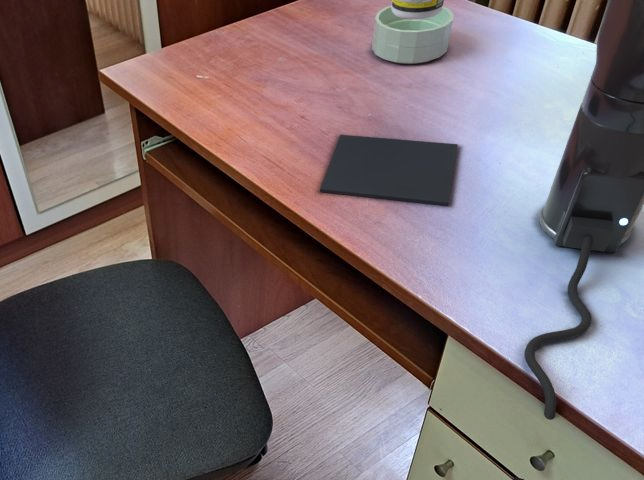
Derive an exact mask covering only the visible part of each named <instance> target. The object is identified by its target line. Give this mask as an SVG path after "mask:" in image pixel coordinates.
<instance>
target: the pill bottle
mask: <svg viewBox="0 0 644 480" xmlns="http://www.w3.org/2000/svg"><path fill="white" fill-rule="evenodd" d="M444 1H445V0H391V5H392V6H391V5H390V6H391V10H392V12H393V14H394V15H395V16H397V17H400V18H404V19H426V18H431V17H433V16H435V15H437V14H438V13H439V12H440V11H441V10H442V7H443V6H444Z"/></svg>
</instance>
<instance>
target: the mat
mask: <svg viewBox="0 0 644 480" xmlns="http://www.w3.org/2000/svg"><path fill="white" fill-rule="evenodd" d="M337 139H338V140H337V141H336V142H337V143H336V145H335V148H334V150H333V152H332V156H331V158H330V161H329V163H328V166H327V169H326V172H325V173H324V177H323V179H322V183H321V185H320V188H319V192H320V193H325V194H326V193H327V194H336V195H344V196H345V195H346V196H354V197H364V198H372V199H380V200H381V199H382V200H390V201H391V200H392V201H398V202H399V201H400V202H408V203H417V204H427V205H434V206H435V205H436V206H445V207H448V206H449V203H450V196H451V190H452V184H453V177H454V172H455V164H456V160H457V159H456V157H457V153H458V152H457V151H458V147H459V146H458V143H449V142H435V141H423V140H422V141H421V140H412V139H411V140H410V139H400V138H399V139H397V138H389V137H388V138H386V137H373V136H362V135H351V134H339V137H338V138H337Z"/></svg>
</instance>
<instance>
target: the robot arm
mask: <svg viewBox="0 0 644 480" xmlns="http://www.w3.org/2000/svg"><path fill="white" fill-rule="evenodd" d="M595 52H596V54H595V55H596V56H595V64H594V67H593V70H592V73H591V75H590V78H589V82H588V84H587V86H586V90H585V93H584V95H583V98H582V101H581V104H580V105H579V108H578V111H577V114H576V117H575V120H574V123H573V125H572V128H571V131H570V133H569V137H568V140H567V142H566V145H565V147H564V150H563V153H562V156H561V158H560V161H559V164H558V167H557V169H556V172H555V175H554V178H553V181H552V183H551V186H550V189H549V192H548V195H547V198H546V201H545V204H544V205H543V207H542V209H541V212H540V215H539V223H540V226H541V229H542V230H543V231H544V232H545V234H547V235H548V236H549V237H550V238H552V239H553V240H554V245H555V246H557V247H564V248H572V249H579V250H580V253H579V257H578V260H577V264H576V267H575V269H574V272H573V273H572V275H571V277H570V280H569V281H568V284H567V295H568V298H569V301H570V302H571V304H572V306H573V307H574V308H575V310H576V311H577V312H578V314H579V316H580V320H581V321H580V323H579V324H577V325H576V326H575V327H572V328H568V329H567V328H566V329H561V330H557V331H550V332H545V333H542V334H539V335H536V336H535V337H533V338H532V339H530V340H529V342H528V343H527V344H526V346H525V349H524V355H523V356H524V360H525V362H526V365H527V366H528V368H529V370H530V371H531V372H532V373H533V375H534V376H535V378H536V379H537V381H538V382H539V384H540V386H541V388H542V390H543V394H544V412H543V416H544V418H545V419H547V420H549V421H552V420H554V419H555V417H556V411H557V395H556V391H555V388H554V386H553V384H552V383H553V382H552V381H551V379H550V377H549V376H548V375H547V373H546V372H545V370H544V368H543V367H542V366H541V365H540V364H539V362H538V360H537V358H536V350H537V348H538V347H539V346H541V345H542V344H545V343H548V342H554V341H561V340H566V339H571V338H574V337H578V336H581V335H583V334H584V333H586V332H587V331H588V329H589V328H590V327H591V324H592V319H593V317H592V315H591V312H590V311H589V309H588V308H587V306H586V305H585V304H584V302H583V301H582V300H581V297H580V296H579V292H578V288H579V284H580V281H581V280H582V277H583V276H584V274H585V272H586V269H587V266H588V264H589V263H588V262H589V260H590V255H591V252H592V251H597V252H605V253H614V254H615V253H617V252H618V249H619V247H620V246H621V245H622V244H624V243H625V242H627V240H628V239H629V238H630V236H631V234H632V232H633V229H634V226H635V224H636V222H637V219H638V217H639V215H640V214H641V211H642V209H643V207H644V0H607V2H606V6H605V10H604V12H603V17H602V19H601V23H600V26H599V29H598V33H597V40H596V50H595ZM512 480H525V478H521V477H517V476H514V477H513V479H512Z"/></svg>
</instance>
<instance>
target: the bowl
mask: <svg viewBox="0 0 644 480" xmlns="http://www.w3.org/2000/svg"><path fill="white" fill-rule="evenodd" d="M391 6H392V4H391V5H388V6H384V7H383V8H382V9H380V10H379V11H377V13H376V15H375V17H374V25H373V34H372V43H371V49H372V51H373V54H374V55H375V56H378V57H379V58H381V59H383V60H386V61H388V62H391V63H395V64H404V65H407V64H408V65H411V64H412V65H414V64H421V63H426V62H430V61H433V60H435V59H438V58H441V57H442V56H443V55H445V54H446V53H447V52H448V49H449V45H450V44H449V43H450V38H451V33H452V28H453V23H454V17H455V13H453V11H452V9H450V8H448V7H446V6H444V5H443V7H442V10H441V11H440V12H439V13H438V14H437V15H435V16H433V17H431V18H426V19H404V18H400V17H397V16H395V15H394V14H393V12H392V10H391Z"/></svg>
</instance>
